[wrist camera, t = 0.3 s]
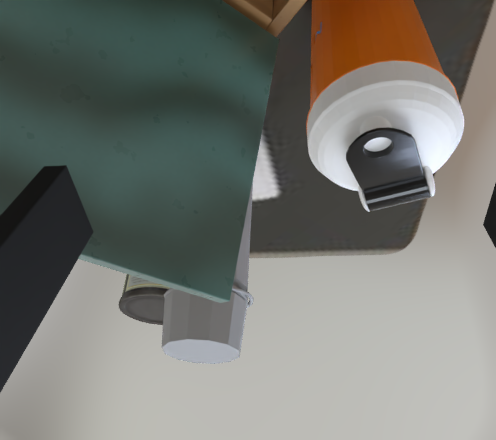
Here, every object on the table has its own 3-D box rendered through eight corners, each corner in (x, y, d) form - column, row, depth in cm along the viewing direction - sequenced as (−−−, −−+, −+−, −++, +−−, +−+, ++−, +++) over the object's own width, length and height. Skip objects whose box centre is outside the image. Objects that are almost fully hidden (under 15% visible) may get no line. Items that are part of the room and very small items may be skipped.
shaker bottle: (388, -101, 30) (450, 87, 19) (428, 2, 36) (494, 192, 25) (279, -26, 35) (278, 161, 23) (331, 55, 40) (349, 236, 29)
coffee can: (218, 234, 68) (210, 320, 60) (163, 245, 71) (148, 328, 63) (184, 197, 60) (169, 290, 52) (124, 212, 64) (101, 301, 56)
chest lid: (-277, 141, 11) (-264, 152, 12) (230, 301, 18) (220, 303, 19) (-31, -174, 17) (-31, -155, 18) (279, 39, 24) (271, 47, 25)
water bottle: (180, 116, 48) (138, 339, 34) (249, 103, 46) (235, 334, 32) (208, 170, 55) (183, 371, 41) (268, 161, 53) (264, 369, 39)
